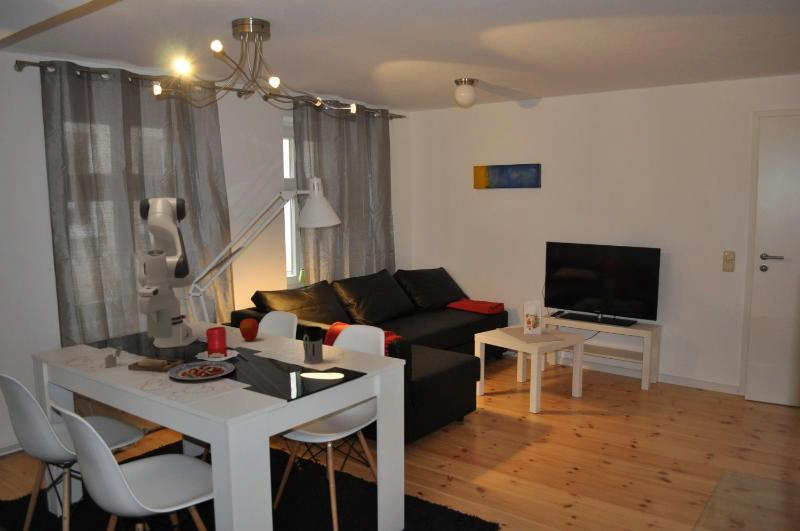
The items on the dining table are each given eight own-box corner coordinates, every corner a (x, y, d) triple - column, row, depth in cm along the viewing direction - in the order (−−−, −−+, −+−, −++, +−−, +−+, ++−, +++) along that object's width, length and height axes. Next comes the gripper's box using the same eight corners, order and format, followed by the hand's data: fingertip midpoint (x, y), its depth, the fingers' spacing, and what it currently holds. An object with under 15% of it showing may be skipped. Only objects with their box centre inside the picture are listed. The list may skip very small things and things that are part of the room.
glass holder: (326, 359, 277) (326, 326, 275) (314, 368, 263) (313, 333, 262) (308, 358, 279) (307, 325, 277) (294, 367, 266) (294, 332, 264)
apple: (236, 341, 312) (235, 318, 311) (248, 337, 320) (247, 314, 319) (251, 343, 308) (250, 319, 307) (262, 339, 316) (262, 316, 315)
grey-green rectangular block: (152, 335, 272) (150, 308, 270) (172, 336, 269) (171, 309, 268) (147, 337, 269) (146, 309, 267) (168, 338, 266) (166, 310, 265)
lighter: (106, 367, 266) (105, 349, 265) (105, 367, 267) (104, 348, 266) (123, 364, 271) (122, 346, 270) (121, 363, 272) (120, 345, 272)
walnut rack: (147, 361, 275) (147, 357, 275) (183, 364, 270) (183, 360, 270) (128, 369, 263) (128, 365, 263) (165, 372, 258) (165, 367, 258)
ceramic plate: (211, 362, 274) (210, 356, 274) (247, 373, 258) (247, 366, 257) (156, 376, 254) (155, 369, 254) (191, 388, 238) (191, 380, 238)
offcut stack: (144, 366, 268) (143, 358, 268) (168, 368, 266) (168, 360, 266) (136, 370, 263) (136, 361, 263) (161, 371, 261) (161, 363, 261)
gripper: (166, 284, 277) (167, 315, 279) (135, 292, 258) (137, 325, 259) (178, 285, 275) (180, 316, 277) (148, 293, 256) (150, 326, 258)
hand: (159, 320), depth 268 cm, fingers closed on grey-green rectangular block, 3 cm apart
